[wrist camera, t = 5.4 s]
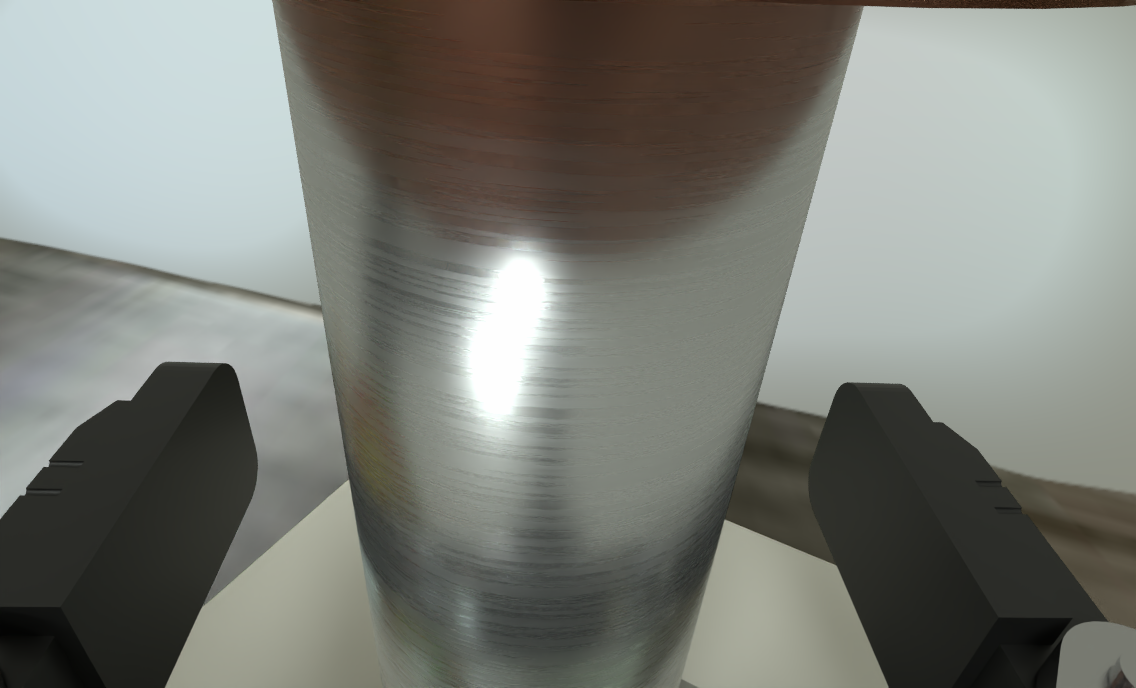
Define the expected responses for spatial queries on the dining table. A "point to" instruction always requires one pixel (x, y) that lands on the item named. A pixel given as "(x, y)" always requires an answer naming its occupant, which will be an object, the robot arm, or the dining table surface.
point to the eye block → (348, 651)
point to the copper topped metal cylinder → (554, 303)
